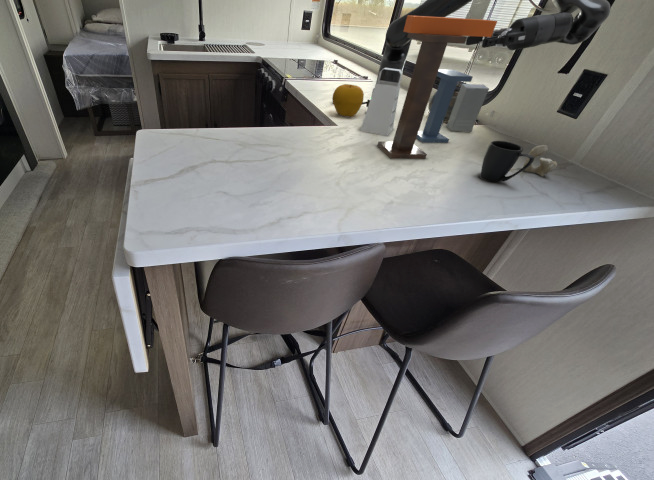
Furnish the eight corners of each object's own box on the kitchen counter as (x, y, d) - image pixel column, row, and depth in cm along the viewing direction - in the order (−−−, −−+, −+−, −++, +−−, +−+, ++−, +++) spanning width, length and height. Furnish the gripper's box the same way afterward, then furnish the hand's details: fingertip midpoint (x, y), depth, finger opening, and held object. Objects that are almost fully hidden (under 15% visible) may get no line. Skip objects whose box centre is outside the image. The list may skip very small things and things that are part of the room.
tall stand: (409, 146, 121) (446, 32, 99) (425, 158, 112) (469, 37, 90) (377, 145, 119) (407, 30, 98) (390, 158, 110) (427, 35, 89)
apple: (342, 120, 141) (348, 89, 133) (323, 112, 149) (328, 82, 141) (366, 118, 146) (373, 87, 138) (346, 110, 154) (352, 80, 146)
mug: (508, 191, 95) (527, 157, 89) (469, 175, 103) (484, 142, 96) (523, 186, 99) (543, 152, 92) (485, 171, 106) (500, 139, 100)
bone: (562, 170, 105) (570, 143, 98) (547, 184, 105) (554, 158, 97) (533, 162, 111) (538, 136, 103) (519, 176, 111) (523, 150, 103)
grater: (366, 124, 139) (380, 65, 125) (392, 128, 135) (409, 69, 122) (360, 130, 131) (373, 69, 118) (387, 135, 128) (404, 73, 115)
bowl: (467, 122, 148) (477, 96, 142) (440, 124, 143) (450, 97, 137) (443, 113, 158) (452, 88, 151) (417, 115, 153) (425, 89, 146)
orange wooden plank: (482, 35, 97) (488, 19, 95) (491, 37, 95) (497, 21, 92) (403, 31, 95) (407, 15, 92) (409, 32, 92) (414, 16, 89)
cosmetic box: (465, 128, 141) (483, 83, 131) (471, 133, 136) (491, 87, 125) (444, 126, 142) (461, 82, 131) (450, 131, 136) (467, 86, 126)
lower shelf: (433, 133, 134) (456, 69, 120) (449, 143, 125) (475, 76, 111) (409, 132, 133) (429, 68, 119) (423, 143, 124) (447, 75, 110)
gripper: (518, 15, 103) (464, 25, 104) (553, 16, 92) (493, 27, 93) (510, 46, 108) (459, 55, 109) (542, 50, 97) (485, 59, 98)
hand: (474, 42), depth 101 cm, fingers open, 8 cm apart
